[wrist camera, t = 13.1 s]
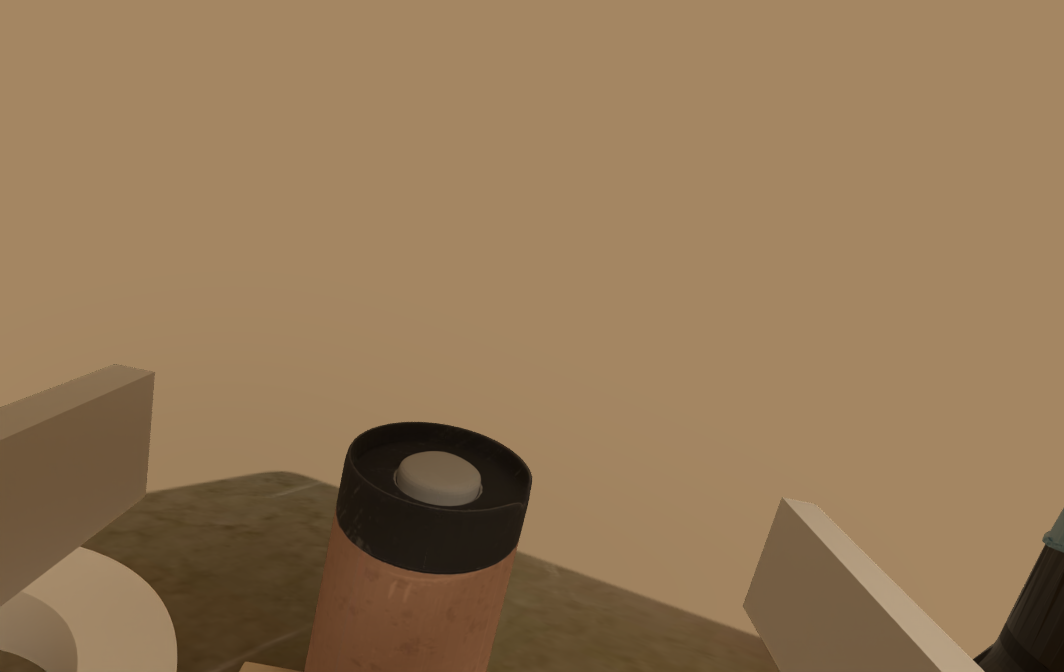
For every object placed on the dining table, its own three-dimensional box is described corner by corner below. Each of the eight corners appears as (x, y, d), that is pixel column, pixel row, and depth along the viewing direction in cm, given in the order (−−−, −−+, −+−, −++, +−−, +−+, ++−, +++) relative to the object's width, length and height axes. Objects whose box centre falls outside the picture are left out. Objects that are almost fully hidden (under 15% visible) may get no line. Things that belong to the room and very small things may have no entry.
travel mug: (256, 800, 26) (319, 422, 22) (403, 739, 31) (478, 417, 27) (291, 995, 20) (386, 528, 16) (466, 883, 25) (573, 499, 21)
